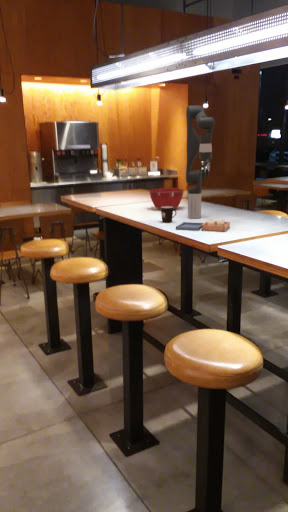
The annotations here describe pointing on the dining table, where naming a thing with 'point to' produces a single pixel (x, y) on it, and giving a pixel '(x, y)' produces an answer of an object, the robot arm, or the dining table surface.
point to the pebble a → (210, 222)
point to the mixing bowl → (166, 197)
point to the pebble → (220, 222)
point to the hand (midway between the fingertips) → (205, 178)
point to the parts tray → (189, 226)
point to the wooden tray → (215, 227)
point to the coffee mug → (167, 214)
